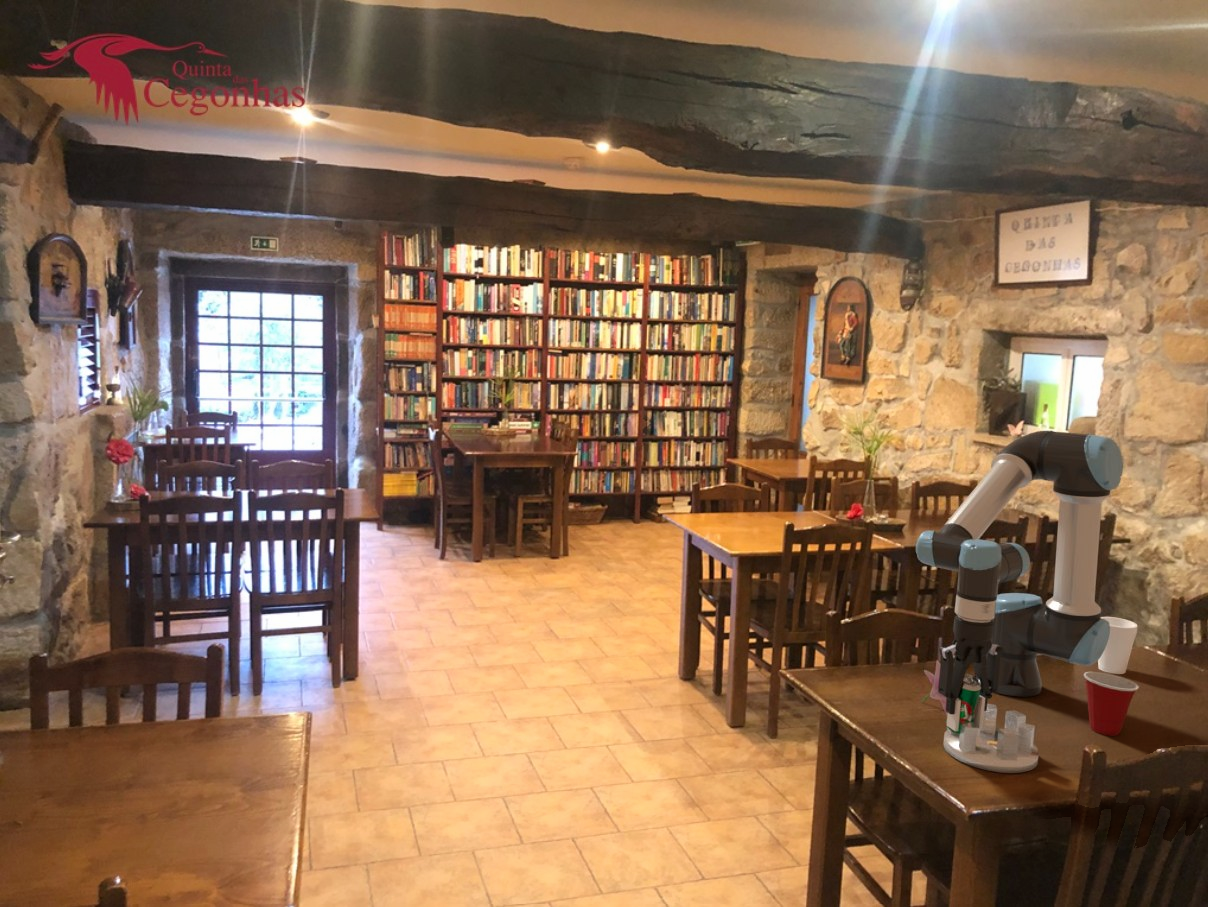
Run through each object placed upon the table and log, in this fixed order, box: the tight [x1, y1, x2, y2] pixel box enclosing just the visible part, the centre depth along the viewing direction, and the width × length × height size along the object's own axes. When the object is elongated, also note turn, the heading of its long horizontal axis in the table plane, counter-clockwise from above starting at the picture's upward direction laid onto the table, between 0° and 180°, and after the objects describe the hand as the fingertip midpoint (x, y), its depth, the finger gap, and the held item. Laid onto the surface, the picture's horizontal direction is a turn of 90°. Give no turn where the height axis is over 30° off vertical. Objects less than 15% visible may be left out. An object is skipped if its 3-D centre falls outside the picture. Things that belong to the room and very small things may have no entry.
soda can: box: [945, 673, 982, 735], centre depth 187 cm, size 5×5×12 cm
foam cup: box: [1097, 616, 1138, 675], centre depth 241 cm, size 10×9×13 cm
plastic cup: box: [1083, 671, 1140, 737], centre depth 202 cm, size 11×11×12 cm
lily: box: [921, 659, 948, 716], centre depth 212 cm, size 12×12×10 cm
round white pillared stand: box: [943, 703, 1039, 774], centre depth 188 cm, size 18×18×8 cm
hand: (964, 726), depth 186 cm, fingers closed on soda can, 5 cm apart
